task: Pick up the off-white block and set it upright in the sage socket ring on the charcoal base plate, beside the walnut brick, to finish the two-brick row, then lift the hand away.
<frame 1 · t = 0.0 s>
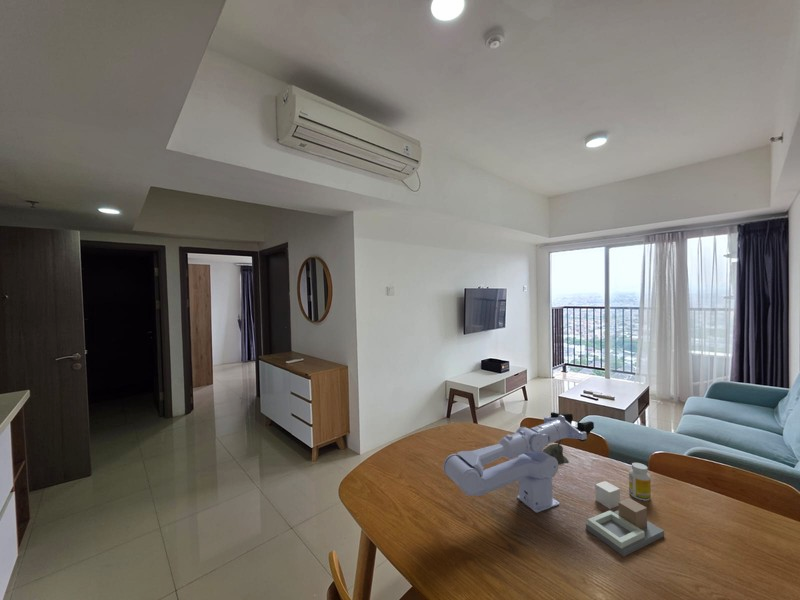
hand: (582, 420, 105), 22 cm above the table, tool horizontal, fingers open, 7 cm apart
sword in stone: (554, 459, 123), on the table
supplement bottle: (639, 496, 99), on the table
base plate: (624, 532, 84), on the table
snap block: (607, 502, 97), on the table
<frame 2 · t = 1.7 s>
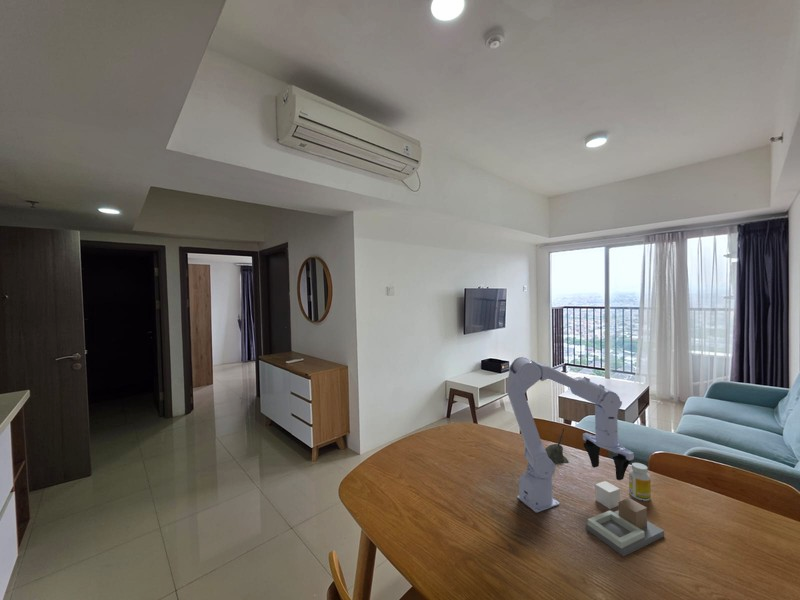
hand: (607, 472, 97), 9 cm above the table, tool pointing down, fingers open, 7 cm apart
nothing on the table moved.
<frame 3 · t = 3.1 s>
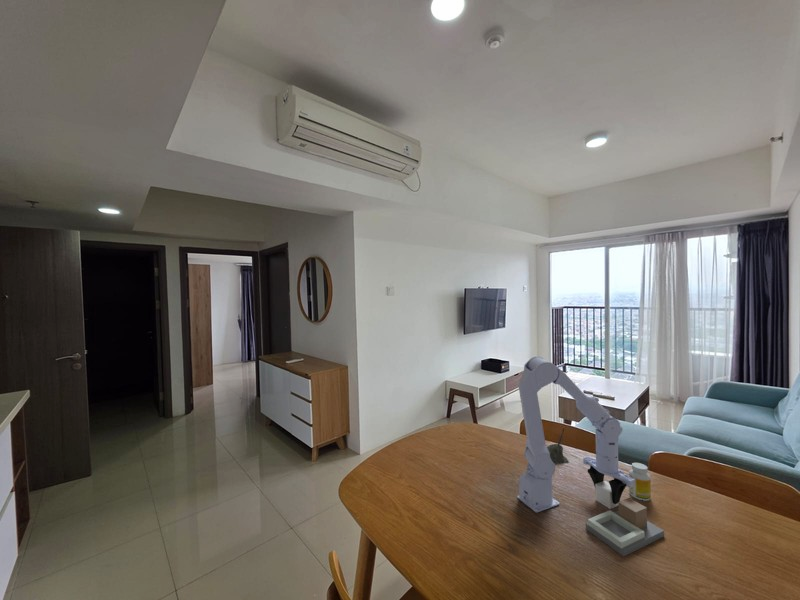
hand: (607, 497, 97), 1 cm above the table, tool pointing down, fingers closed on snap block, 4 cm apart
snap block: (607, 502, 97), on the table, touching gripper
everything else where it was.
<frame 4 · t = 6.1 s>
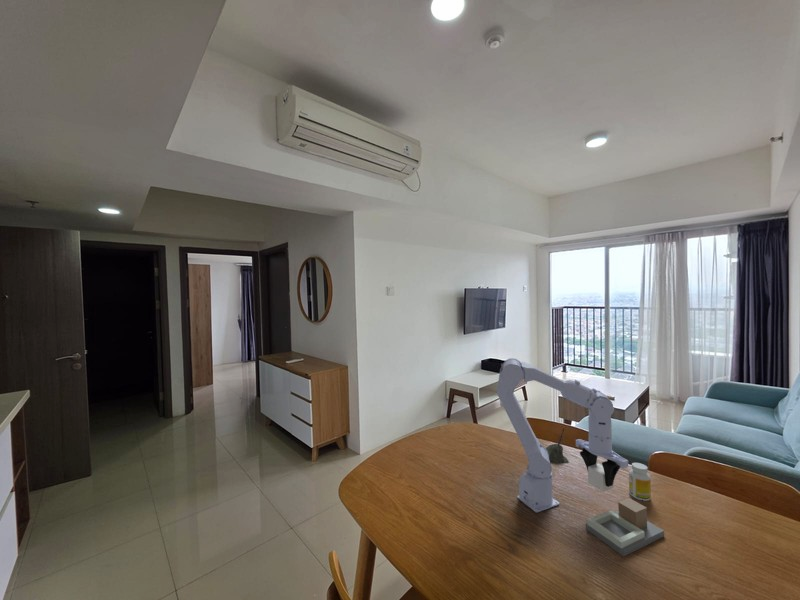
hand: (600, 480, 93), 9 cm above the table, tool pointing down, fingers closed on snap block, 4 cm apart
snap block: (600, 485, 93), point 8 cm above the table, touching gripper
everything else where it was.
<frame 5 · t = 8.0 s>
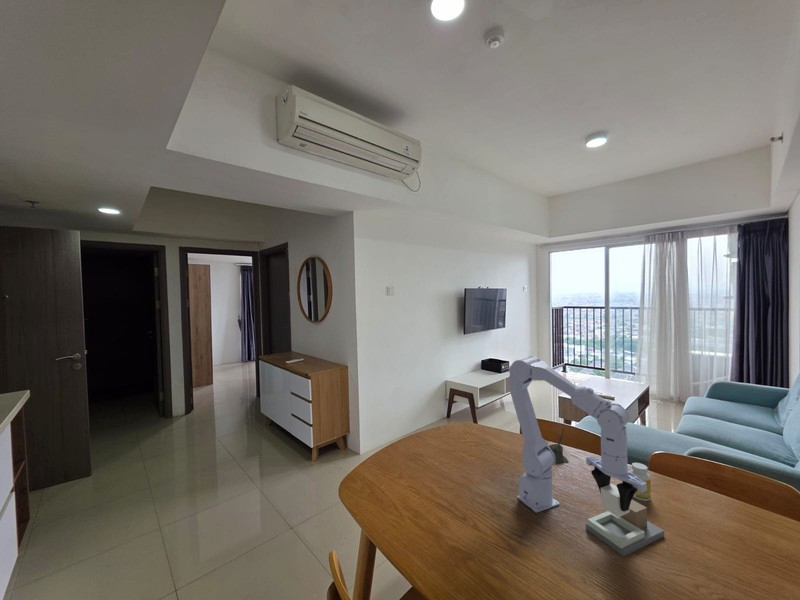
hand: (614, 504, 83), 9 cm above the table, tool pointing down, fingers closed on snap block, 4 cm apart
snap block: (615, 509, 83), point 7 cm above the table, touching gripper
everything else where it was.
when the fingers open (4 cm above the table, at t = 9.4 s): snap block stays where it is, resting on base plate.
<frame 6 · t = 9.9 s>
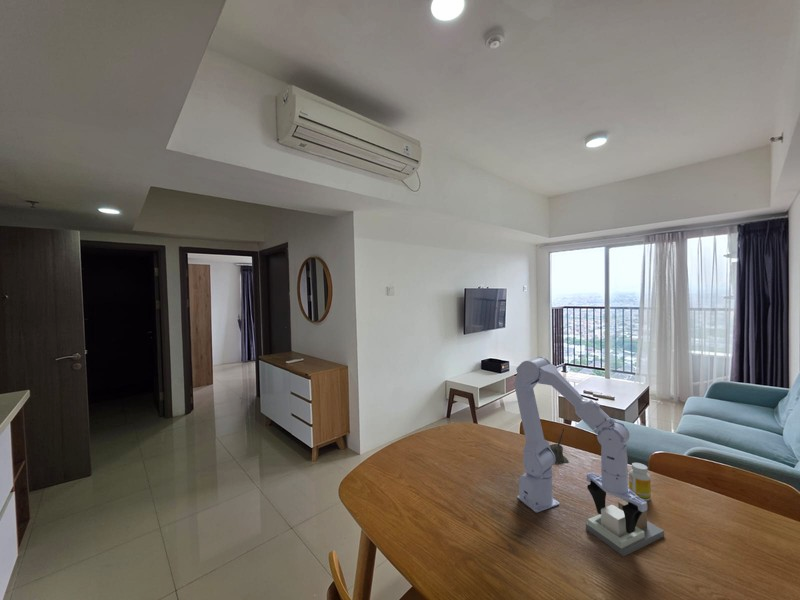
hand: (615, 521, 83), 4 cm above the table, tool pointing down, fingers open, 7 cm apart
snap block: (615, 530, 83), point 1 cm above the table, touching base plate
everything else where it was.
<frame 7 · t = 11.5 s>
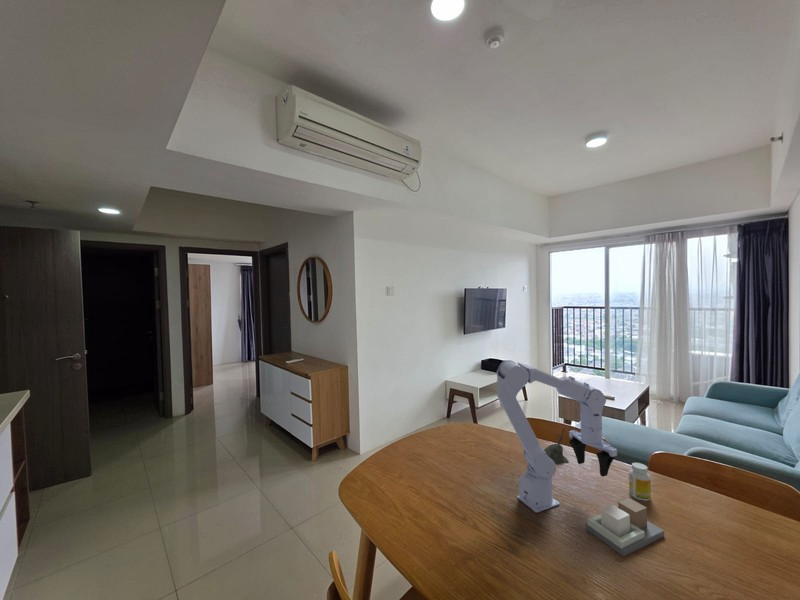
hand: (592, 469, 98), 9 cm above the table, tool pointing down, fingers open, 7 cm apart
nothing on the table moved.
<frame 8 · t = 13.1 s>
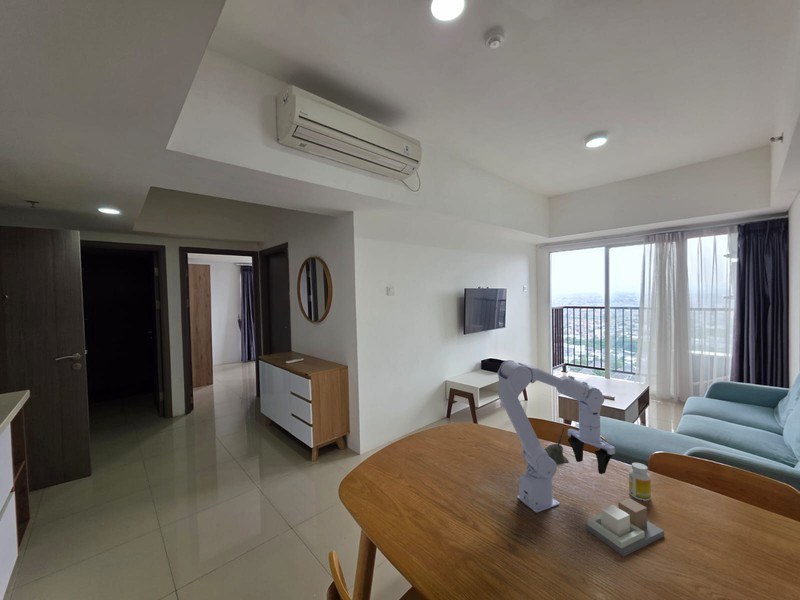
hand: (590, 466, 99), 9 cm above the table, tool pointing down, fingers open, 7 cm apart
nothing on the table moved.
at the end: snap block 0.1 cm from the target spot on the base plate, point 1.5 cm above the base plate's base; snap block tilted 0°; the gripper is holding nothing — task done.
